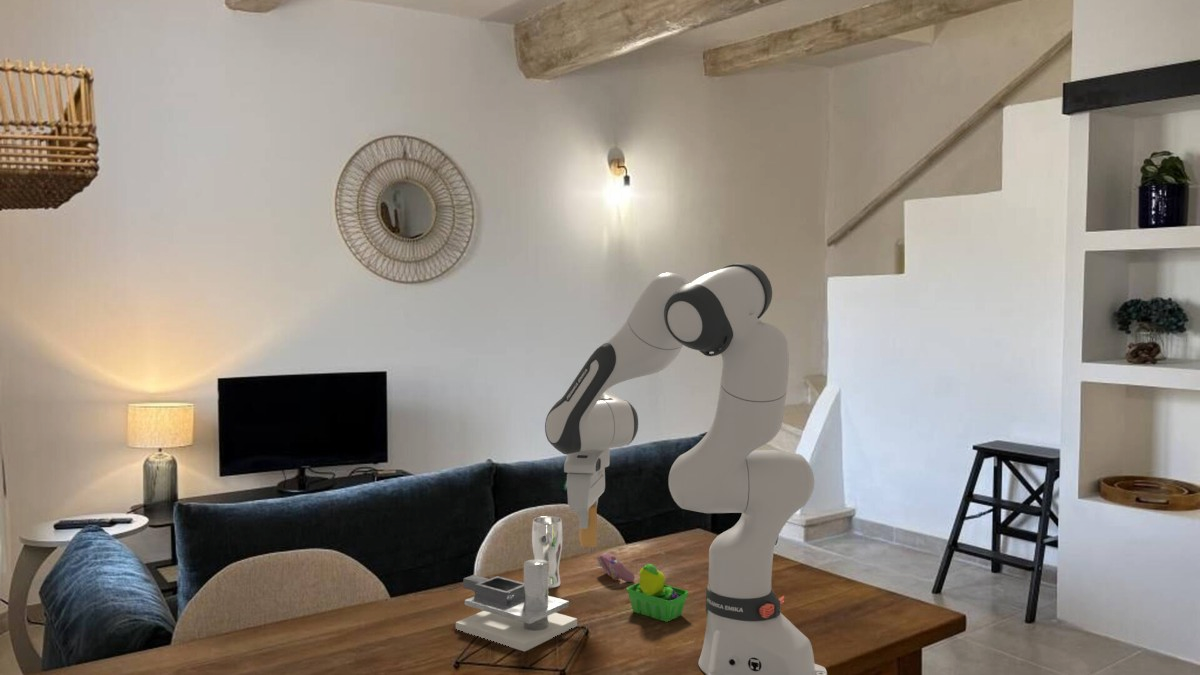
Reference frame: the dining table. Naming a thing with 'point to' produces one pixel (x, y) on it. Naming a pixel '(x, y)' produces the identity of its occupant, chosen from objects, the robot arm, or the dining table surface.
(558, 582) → the beer glass
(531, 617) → the grey metal fixture
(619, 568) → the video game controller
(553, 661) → the dining table surface
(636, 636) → the dining table surface
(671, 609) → the fruit basket
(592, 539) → the wedge
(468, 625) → the board
